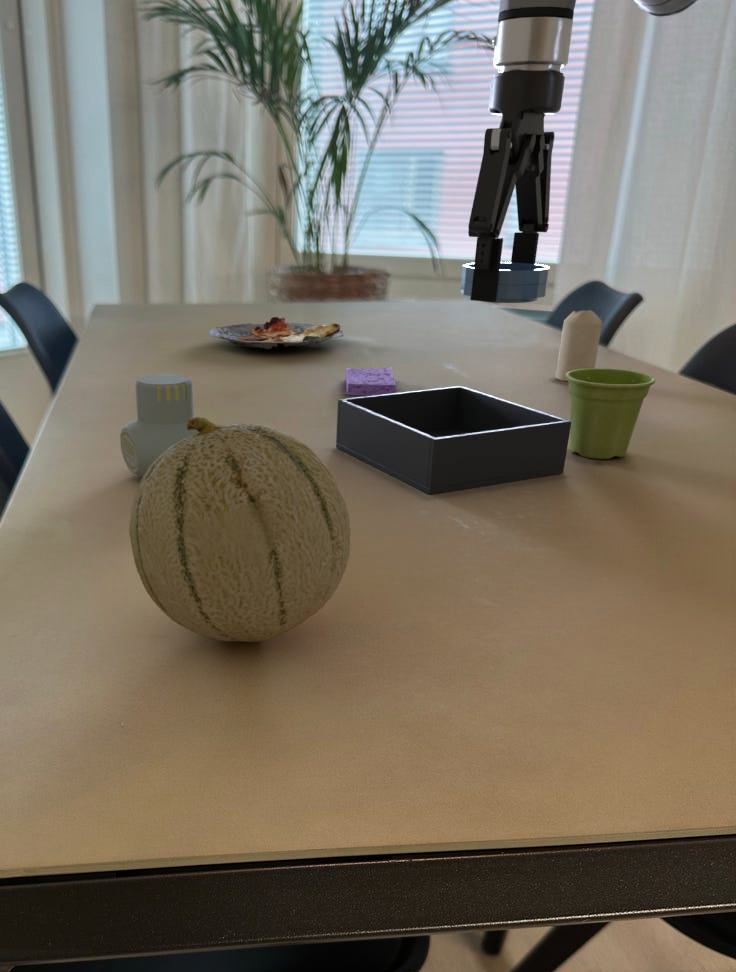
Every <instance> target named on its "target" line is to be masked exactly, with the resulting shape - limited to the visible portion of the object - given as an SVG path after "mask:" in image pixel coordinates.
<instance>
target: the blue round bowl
mask: <svg viewBox="0 0 736 972" xmlns="http://www.w3.org/2000/svg"><path fill="white" fill-rule="evenodd" d="M474 263H475V262H471V263H466V264H463V265H462V271H461V281H460V291H459V292H460V294H461V295H462V296H467V299H468V300H471V292H472V282H473V273H474ZM550 272H551V267H550V266H548V265H546V264H545V265H544V264H539V263H538V264H537V263H535V264H528V263H511V262H510V261H509V262H508V261H507V262H506V261H505V262H502V261H501V262H500V270H499V279H498V287H497V296H496V302H494V303H495V304H496V303H497V304H523V303H532V302H536V301H537V300H538V299H539V298H545V297H546V296H547V293H548V285H549V279H550ZM482 302H483V303H486V302H485V301H482Z"/></svg>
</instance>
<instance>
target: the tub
mask: <svg viewBox="0 0 736 972" xmlns="http://www.w3.org/2000/svg"><path fill="white" fill-rule="evenodd" d="M336 412H337V413H336V415H337V416H336V434H335V435H336V437H335V438H336V440H335V448H337V449H338V450H341V451H342V452H344V453H346V454H348V455H351V456H353V457H354V458H356V459H358V460H360V461H362V462H364V463H366V464H368V465H370V466H372V467H374V468H376V469H378V470H380V471H382V472H383V473H386V474H388V475H390V476H392V477H394V478H396V479H398V480H400V481H402V482H404V483H406V484H408V485H410V486H411V487H414V488H416V489H418V490H420V491H422V492H424V493H426V494H427V495H436V494H442V493H446V492H447V493H448V492H454V491H455V492H456V491H461V490H467V489H473V488H479V487H485V486H491V485H498V484H505V483H509V482H517V481H522V480H529V479H535V478H540V477H541V478H542V477H548V476H554V475H561V474H564V471H565V464H566V459H567V451H568V446H569V441H570V428H571V420H568V419H565V418H562V417H559V416H556V415H552V414H550V413H547V412H544V411H540V410H537V409H534V408H532V407H528V406H525V405H522V404H518V403H517V402H516V403H515V402H513V401H509V400H506V399H503V398H500V397H497V396H494V395H491V394H488V393H485V392H482V391H478V390H476V389H473V388H469V387H466V386H462V385H456V386H448V387H438V388H430V389H421V390H412V391H403V392H395V393H392V394H383V395H374V396H356V397H346V398H339V399H337V411H336Z"/></svg>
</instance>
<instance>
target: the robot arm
mask: <svg viewBox="0 0 736 972" xmlns="http://www.w3.org/2000/svg"><path fill="white" fill-rule="evenodd" d="M633 1H634V3H636V5H637V7H638V8H639V9H640V10H642V11H644V12H645V13H647V14H649V15H650V16H654V17H662V18H663V17H672V16H675V15H679V14H682V13H683V12H685V11H686V10H688V9H689V8H690V7H692V6H693V5H694V4H695V3H696V2H697V1H698V0H633ZM576 3H577V0H499V10H498V17H497V18H498V19H497V27H496V29H497V30H496V35H495V36H494V37H493V38H492V45H493V46H494V47H495V48H494V57H493V66H494V68H496V69H497V70H498V73H495V74H494V75H493V77H491V81H490V92H489V101H488V112H489V113H490V114H491V115H494V116H501V118H500V124H499V126H498V128H497V127H494V128H491V127H490V128H486V129H485V132H484V138H483V139H484V140H483V151H482V158H481V164H480V167H479V173H478V178H477V182H476V187H475V192H474V196H473V202H472V208H471V211H470V216H469V220H468V221H469V222H468V228H467V229H468V231H467V232H468V237H470V238H476V246H475V247H476V248H475V254H474V255H475V256H474V262H473V263H474V273H473V282H472V292H471V299H470V301H476V302H483V301H485V302H484V303H495V302H496V296H497V287H498V279H499V270H500V262H502V253H503V245H504V238H503V237H500V234H501V232H502V228H503V225H504V222H505V219H506V216H507V213H508V209H509V206H510V203H511V199H512V197H513V193H514V191H515V197H516V198H515V199H516V211H517V224H518V231H517V232H514V233H513V241H512V249H511V250H512V251H511V259H510V263H528V264H536V259H537V254H538V253H537V252H538V245H539V236H540V233H547V232H548V230H549V226H550V225H549V222H550V221H549V220H550V199H551V198H550V197H551V179H552V177H551V175H552V154H553V148H554V142H555V132H554V131H545V120H544V119H545V117H546V115H556V114H558V113H559V112H560V110H562V104H563V96H564V88H565V80H566V76H565V75H564V73H563V72H562V71H561V70H562V68H564V67H566V66H567V65H568V64H569V56H570V48H571V40H572V33H573V24H574V14H575V7H576ZM514 189H515V190H514Z"/></svg>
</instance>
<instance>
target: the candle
mask: <svg viewBox="0 0 736 972" xmlns="http://www.w3.org/2000/svg"><path fill="white" fill-rule="evenodd" d="M602 327H603V321H602V320H601V318H600V317H599V316H598V315H597V314H596V313H595V312H594V311H593V310H589V309H588V310H583V309H582V310H579V311H576V310H572V312H571V313H570V314H569V315H568V316H567V317H566V318H565V319H564V320H563V325H562V330H561V331H562V332H561V338H560V339H561V340H560V344H559V352H558V357H557V358H558V359H557V364H556V371H555V378H556V379H557V380H559V381H564V382H569V380H567V379H566V373H567V372H570V371H573V370H579V369H591V368H596V363H597V355H598V350H599V345H600V340H601V339H600V338H601V333H602Z"/></svg>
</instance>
